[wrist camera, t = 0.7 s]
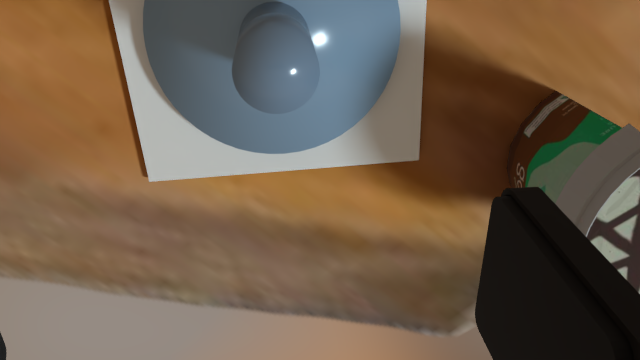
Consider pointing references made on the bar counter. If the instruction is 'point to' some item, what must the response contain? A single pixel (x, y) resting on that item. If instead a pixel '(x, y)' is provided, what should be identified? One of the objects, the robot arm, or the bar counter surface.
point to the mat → (221, 160)
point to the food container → (585, 175)
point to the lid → (272, 66)
